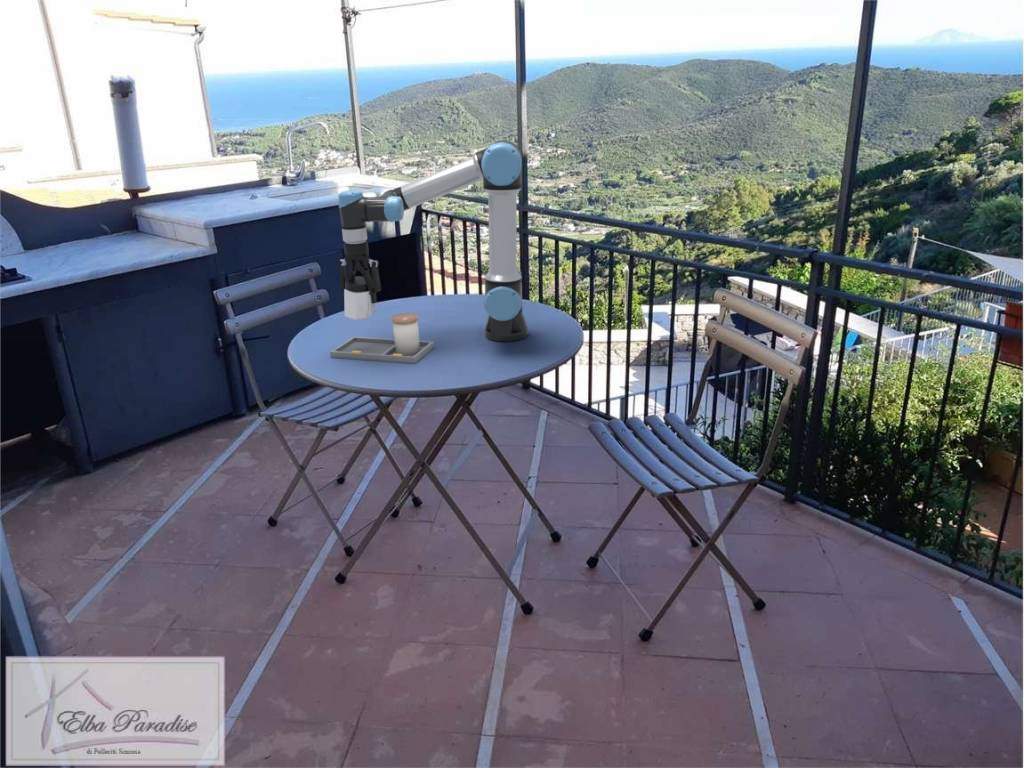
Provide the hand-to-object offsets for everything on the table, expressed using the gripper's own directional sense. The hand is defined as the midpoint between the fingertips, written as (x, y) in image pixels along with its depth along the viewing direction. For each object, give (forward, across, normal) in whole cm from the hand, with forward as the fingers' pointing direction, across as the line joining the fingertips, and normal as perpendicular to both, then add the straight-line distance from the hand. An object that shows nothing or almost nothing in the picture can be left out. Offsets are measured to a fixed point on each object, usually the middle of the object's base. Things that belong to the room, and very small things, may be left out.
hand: (363, 312), depth 243 cm
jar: (+1, +2, -1) cm, 3 cm away
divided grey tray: (+14, -6, 0) cm, 15 cm away
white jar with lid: (+13, -15, 0) cm, 20 cm away
